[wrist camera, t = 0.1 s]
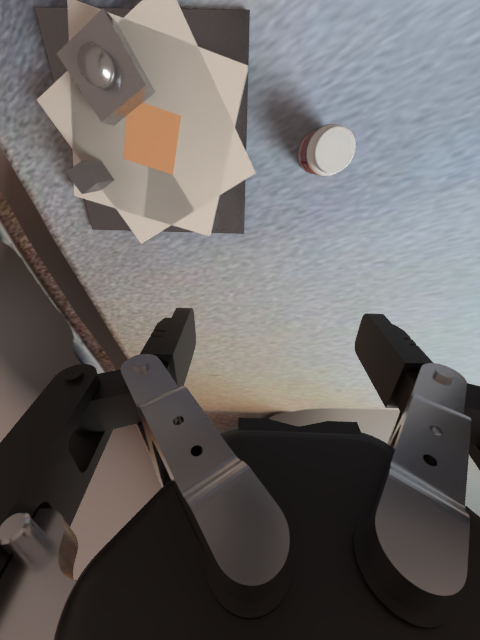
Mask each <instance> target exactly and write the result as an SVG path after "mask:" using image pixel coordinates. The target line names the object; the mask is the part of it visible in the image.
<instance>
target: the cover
mask: <svg viewBox="0 0 480 640" xmlns="http://www.w3.org/2000/svg"><path fill="white" fill-rule="evenodd" d="M57 55H58V57H59V58H60V60H61V61H62V63H63V64H64V66H65V67H66V69H67V71H68V72H69V74H70V75H71V77H72V78H73V80H74V81H75V83H76V84H77V86H78V87H79V89H80V90H81V92H82V93H83V95H84V97H85V98H86V100H87V101H88V103H89V104H90V106H91V107H92V109H93V110H94V112H95V113H96V115H97V116H98V118H99V119H100V121H101V122H102V123H106V124H110V125H113V126H114V125H116V124H117V123H118V122H119V121H121V120H122V119H123V118H124V117H126V116H127V115H128V114H129V113H131V112H132V111H133V110H134V109H135V108H137V107H138V106H139V105H140V104H142V103H143V102H144V101H145V100H147V99H148V98H149V97H150V96H152V95H153V94H154V93H155V91H154V89H153V87H152V85H151V83H150V81H149V80H148V78H147V76H146V74H145V72H144V71H143V69H142V67H141V65H140V63H139V61H138V60H137V58H136V56H135V54H134V52H133V50H132V49H131V47H130V45H129V43H128V41H127V40H126V38H125V36H124V34H123V32H122V30H121V29H120V27H119V25H118V23H117V22H116V21H115V20H114V19H113V18H112V17H111V16H110V15H109V14H108V13H107V12H106V11H105V10H104V8H102V9H101V10H100V11H99V12H98V13H97V14H96V15H95V16H94V17H93V18H92V19H91V20H90V21H89V22H88V23H87V24H86V25H85V26H84V27H83V28H82V29H81V30H80V31H79V32H78V33H77V34H76V35H75V36H74V37H73V38H72V39H71V40H70V41H69V42H68V43H67V44H66V45H65V46H64V47H63V48H62V49H61V50H60V51H59V52H58V53H57Z"/></svg>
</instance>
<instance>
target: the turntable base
mask: <svg viewBox="0 0 480 640" xmlns="http://www.w3.org/2000/svg"><path fill="white" fill-rule="evenodd" d="M98 9H102V8H98ZM35 10H36V14H37V18H38V22H39V26H40V29H41V33H42V37H43V41H44V45H45V49H46V53H47V56H48V60H49V64H50V68H51V72H52V76H53V80H54V83H55V82H56V81H57V80H58V79H59V78H60V77H61V76H62V75H63V74H64V73H65V72H67V69H66V67H65V66H64V64H63V63H62V61H61V60H60V58H59V57H58V55H57V53H58V52H59V51H60V50H61V49H62V48H63V47H64V46H65V45H66V44H67V43H68V42H69V33H68V8H36V7H35ZM104 10H105V11H106V12H109V13H111V14H114V15H117V16H119V17H122V18H124V17H125V16H126V15H127V14H128V13H129V12H130V11H131V10H132V9H127V8H104ZM181 10H182V13H183V15H184V17H185V19H186V21H187V24H188V26H189V28H190V30H191V32H192V34H193V37H194V39H195V41H196V43H197V45H198V47H201V48H203V49H206V50H208V51H211V52H214V53H216V54H219V55H222V56H224V57H227V58H229V59H232V60H235V61H237V62H240V63H243V64H245V65H248V58H249V20H250V10H217V9H181ZM247 96H248V73H247V78H246V82H245V86H244V91H243V95H242V100H241V104H240V109H239V113H238V117H237V122H236V126H235V129H236V131H237V133H238V135H239V137H240V140H241V142H242V144H243V146H244V148H245V151H246V135H247ZM71 149H72V148H71ZM72 153H73V149H72ZM85 203H86V207H87V211H88V215H89V218H90V222H91V226H92V229H95V230H131V229H130V227H129V226H128V225H127V223H126V222H125V221H124V219H123V218H122V216H121V215H120V214H119V212H118V211H117V210H116V208H113V207H110V206H106V205H103V204H99V203H96V202H93V201H89V200H86V199H85ZM244 212H245V180H244V181H242V182H240V183H239V184H237V185H236V186H234V187H232V188H231V189H229V190H227V191H226V192H224V193H223V194H221V195H220V197H219V201H218V206H217V210H216V215H215V219H214V223H213V228H212V232H211V233H240V234H244ZM131 231H132V230H131ZM163 231H168V232H193V231H190V230H187V229H183V228H180V227H176V226H173V225H171V226H169V227H168V228H166V229H164V230H163Z"/></svg>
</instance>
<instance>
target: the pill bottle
mask: <svg viewBox="0 0 480 640" xmlns="http://www.w3.org/2000/svg"><path fill="white" fill-rule="evenodd" d="M355 147H356V145H355V138H354V136H353V134H352V132H351V131H350V130H349V129H347V128H346V127H343V126H341V125H338V124H328V125H325V126H323V127H321V128H319V129H317V130H314V131H312V132H311V133H309V134H308V135H307V136H306V137H305V138H304V140H303V141H302V143H301V145H300V148H299V162H300V164H301V166H302V168H303V169H304V170H305V171H306V172H308V173H311V174H315V175H320V176H331V175H333V174H335V173H337V172H339V171H341V170H343V169H344V168H345V167H346V166H348V164H349V163H350V162H351V160H352V158H353V156H354V153H355Z"/></svg>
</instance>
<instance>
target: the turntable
mask: <svg viewBox="0 0 480 640" xmlns="http://www.w3.org/2000/svg"><path fill="white" fill-rule="evenodd" d="M67 4H68V33H69V41H70V40H71V39H72V38H73V37H74V36H75V35H76V34H77V33H78V32H79V31H80V30H81V29H82V28H83V27H84V26H85V25H86V24H87V23H88V22H89V21H90V20H91V19H92V18H93V17H94V16H95V15H96V14H97V13H98V12H99V11H100V10H101V9H98V8H96V7H93V6H90V5H88V4H85V3H82V2H80V1H77V0H67ZM107 13H108V14H109V15H110V16H111V17H112V18H113V19H114V20H115V21H116V22H117V23H118V25H119V27H120V29H121V30H122V32H123V34H124V36H125V38H126V40H127V41H128V43H129V45H130V47H131V49H132V50H133V52H134V54H135V56H136V58H137V60H138V61H139V63H140V65H141V67H142V69H143V71H144V72H145V74H146V76H147V78H148V80H149V81H150V83H151V85H152V87H153V89H154V91H155V93H154V94H153V95H152V96H150V97H149V98H148V99H147V100H145V101H144V102H143V103H142V104H140V105H139V106H138V107H137V108H135V109H134V110H133V111H132V112H131V113H129V114H128V115H127V116H126V117H124V118H123V119H122V120H121V121H119V122H118V123H117V124H116V125H114V126H113V125H110V124H106V123H102V122H101V121H100V119H99V118H98V116H97V115H96V113H95V112H94V110H93V109H92V107H91V106H90V104H89V103H88V101H87V100H86V98H85V97H84V95H83V93H82V92H81V90H80V89H79V87H78V86H77V84H76V83H75V81H74V80H73V78H72V77H71V75H70V74H69V72H68V71H67V72H65V73H64V74H63V75H62V76H61V77H60V78H59V79H58V80H57V81H56V82H55V83H54V84H53V85H52V86H51V87H50V88H49V89H47V90H46V91H45V92H44V93H43V94H42V95H41V96H40V97H39V98H38V99H37V101H38V103H39V104H40V105H41V107H42V108H43V109H44V111H45V112H46V114H47V115H48V116H49V118H50V119H51V120H52V122H53V123H54V125H55V126H56V127H57V129H58V130H59V131H60V133H61V134H62V136H63V137H64V138H65V140H66V141H67V142H68V144H69V145H70V146H71V148H72V149H73V168H71V169H70V170H69V171H68V172H66V174H67V175H68V177H69V178H70V179H71V180H72V182H73V183H74V196H76V197H79V198H83V199H86V200H89V201H93V202H96V203H99V204H103V205H106V206H110V207H113V208H116V210H117V211H118V212H119V214H120V215H121V216H122V218H123V219H124V221H125V222H126V223H127V225H128V226H129V227H130V229H131V230H132V232H133V233H134V234H135V236H136V237H137V238H138V240H139V241H140V242H141V244H142V243H143V242H145V241H147V240H148V239H150V238H152V237H153V236H155V235H156V234H158V233H160V232H161V231H163V230H164V229H166V228H168V227H169V226H171V225H173V226H176V227H180V228H183V229H187V230H190V231H193V232H197V233H200V234H203V235H207V236H210V235H211V232H212V228H213V223H214V219H215V215H216V210H217V206H218V201H219V197H220V195H221V194H223V193H224V192H226V191H227V190H229V189H231V188H232V187H234V186H236V185H237V184H239V183H240V182H242V181H244V180H245V179H247V178H249V177H250V176H252V175H253V174H255V173H256V172H255V170H254V168H253V166H252V164H251V162H250V159H249V157H248V155H247V153H246V151H245V148H244V146H243V144H242V142H241V140H240V137H239V135H238V133H237V131H236V129H235V126H236V122H237V117H238V113H239V109H240V104H241V100H242V95H243V91H244V86H245V82H246V78H247V73H248V65H245V64H243V63H240V62H237V61H235V60H232V59H229V58H227V57H224V56H222V55H219V54H216V53H214V52H211V51H208V50H206V49H203V48H201V47H198V45H197V43H196V41H195V39H194V37H193V34H192V32H191V30H190V28H189V26H188V24H187V21H186V19H185V17H184V15H183V13H182V10H181V8H180V6H179V4H178V2H177V0H142V1H141V2H140V3H139V4H137V5H136V6H135V7H134V8H133V9H132V10H131V11H130V12H129V13H128V14H127V15H126V16H125V17H124V18H122V17H119V16H117V15H114V14H111V13H109V12H107Z"/></svg>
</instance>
